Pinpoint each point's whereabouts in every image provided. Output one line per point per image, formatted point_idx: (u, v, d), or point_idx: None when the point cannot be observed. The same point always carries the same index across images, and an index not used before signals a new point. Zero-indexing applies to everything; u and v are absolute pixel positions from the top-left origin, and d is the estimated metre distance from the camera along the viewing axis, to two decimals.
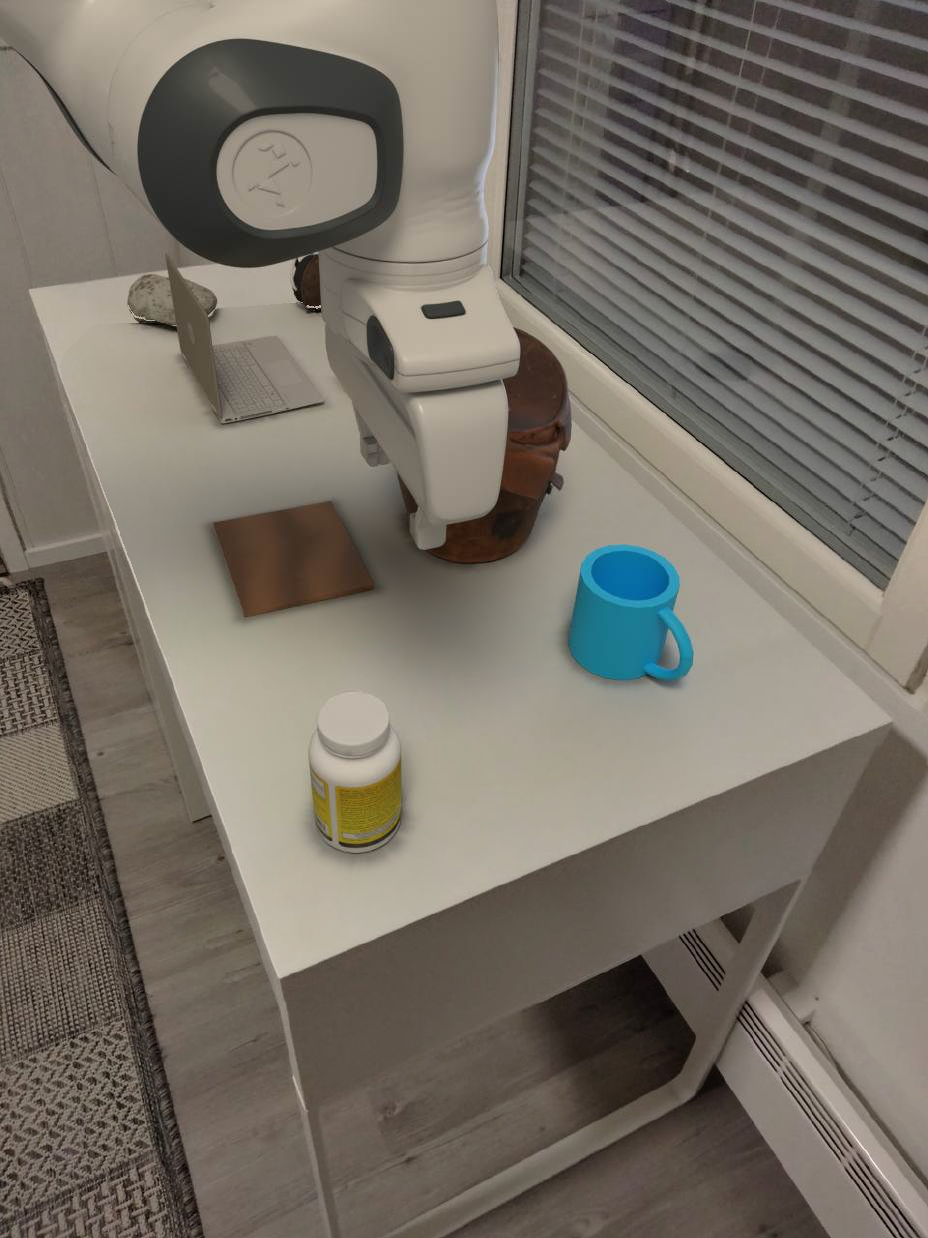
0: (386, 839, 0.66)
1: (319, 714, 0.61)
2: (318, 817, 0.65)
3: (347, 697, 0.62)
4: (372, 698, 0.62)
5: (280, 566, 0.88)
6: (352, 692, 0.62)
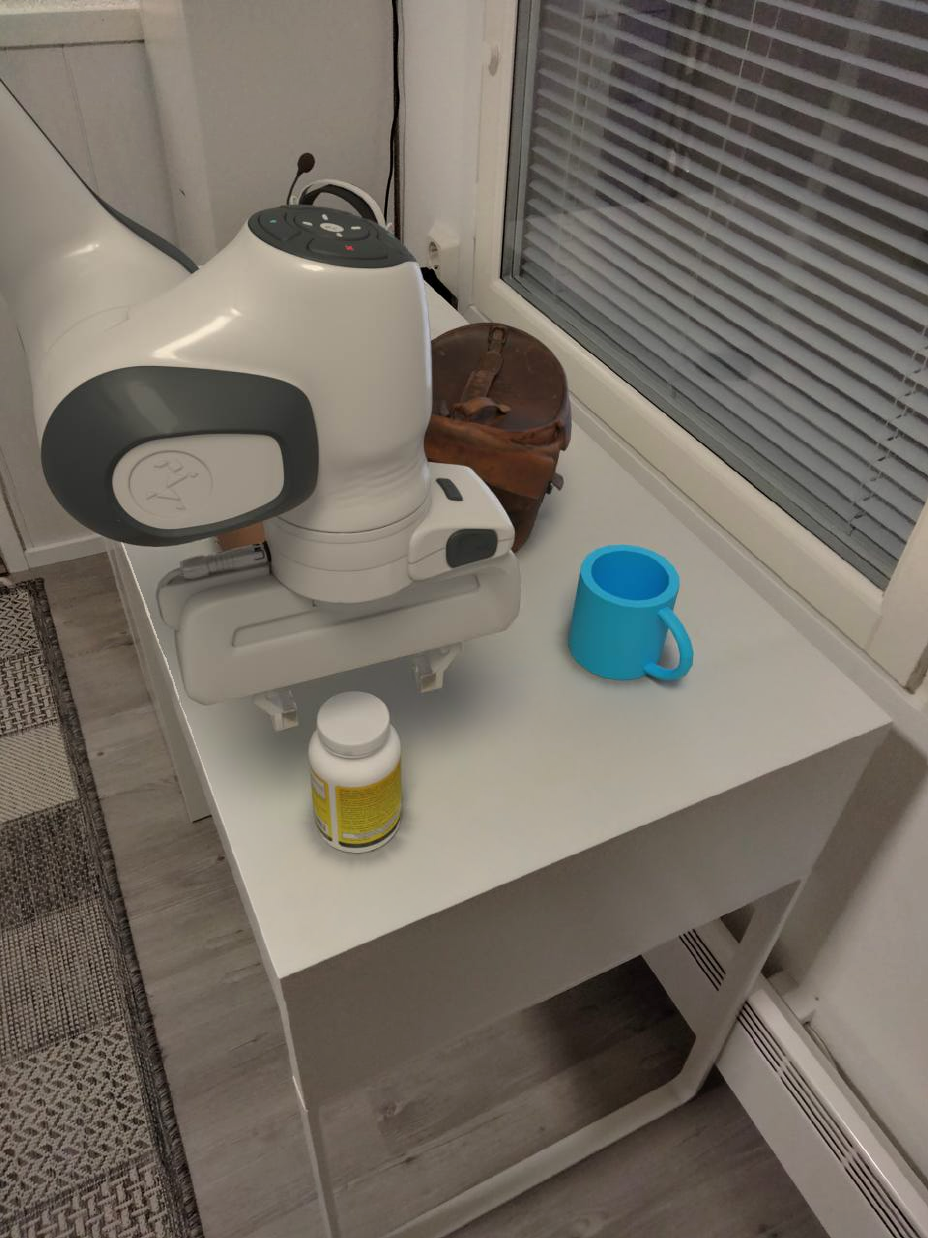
0: (386, 839, 0.66)
1: (319, 714, 0.61)
2: (318, 817, 0.65)
3: (347, 697, 0.62)
4: (372, 698, 0.62)
5: None
6: (352, 692, 0.62)
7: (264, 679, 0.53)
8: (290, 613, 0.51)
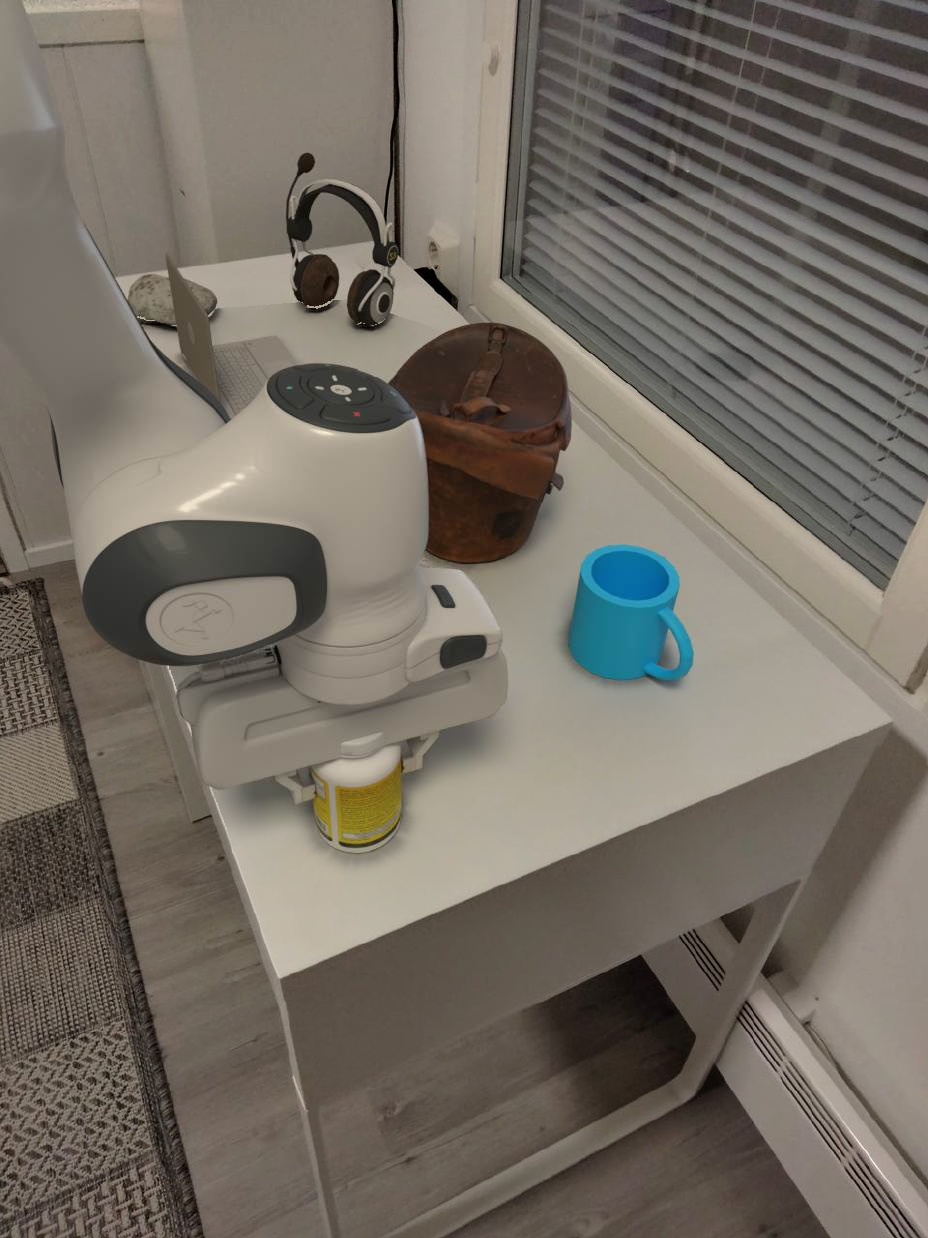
0: (386, 839, 0.66)
1: None
2: (318, 817, 0.65)
3: None
4: None
5: None
6: None
7: (273, 766, 0.58)
8: (298, 709, 0.56)
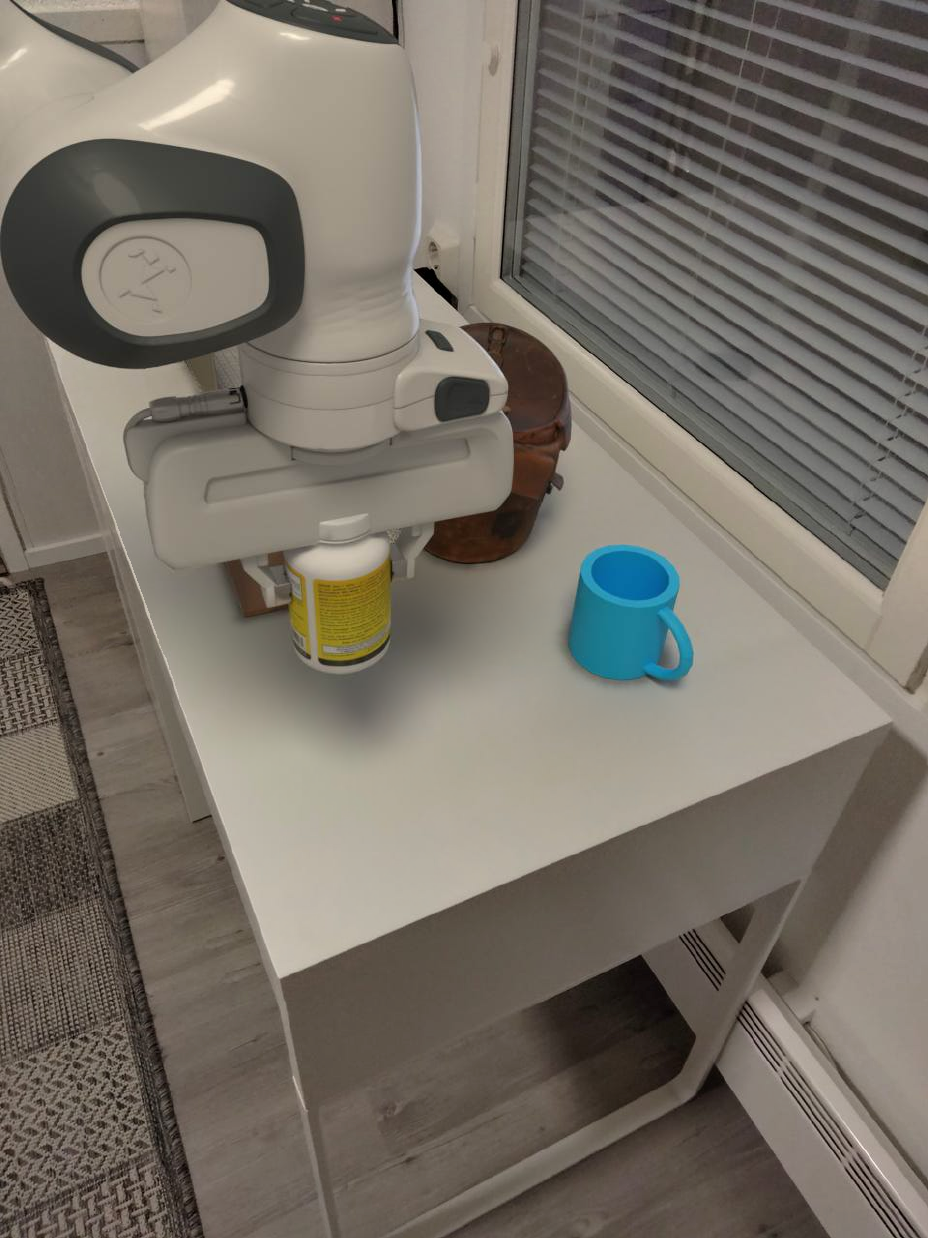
0: (373, 659, 0.58)
1: None
2: (295, 630, 0.57)
3: None
4: None
5: None
6: None
7: (239, 543, 0.50)
8: (268, 466, 0.47)
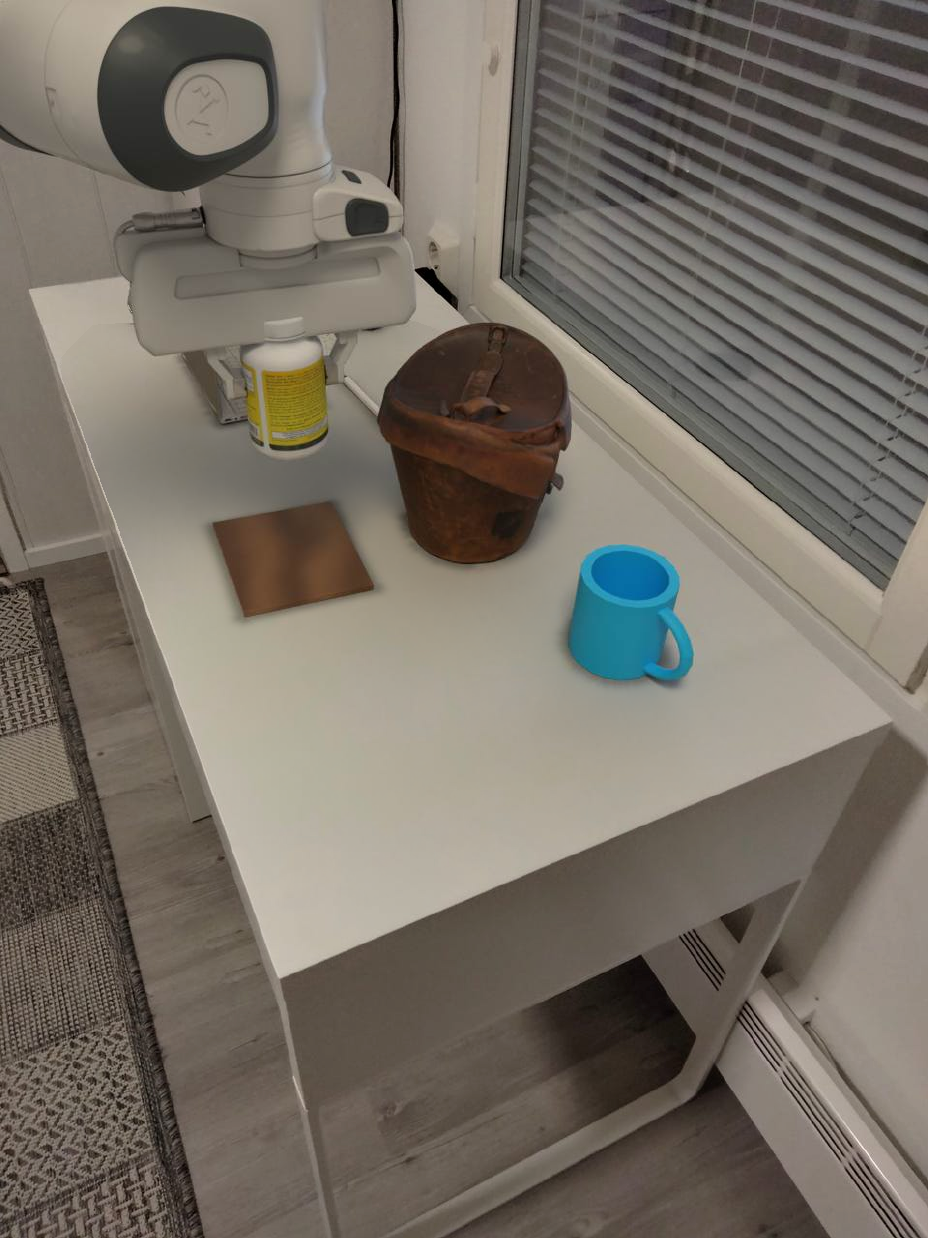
0: (313, 447, 0.74)
1: None
2: (251, 422, 0.73)
3: None
4: None
5: (280, 566, 0.88)
6: None
7: (202, 335, 0.66)
8: (222, 269, 0.63)
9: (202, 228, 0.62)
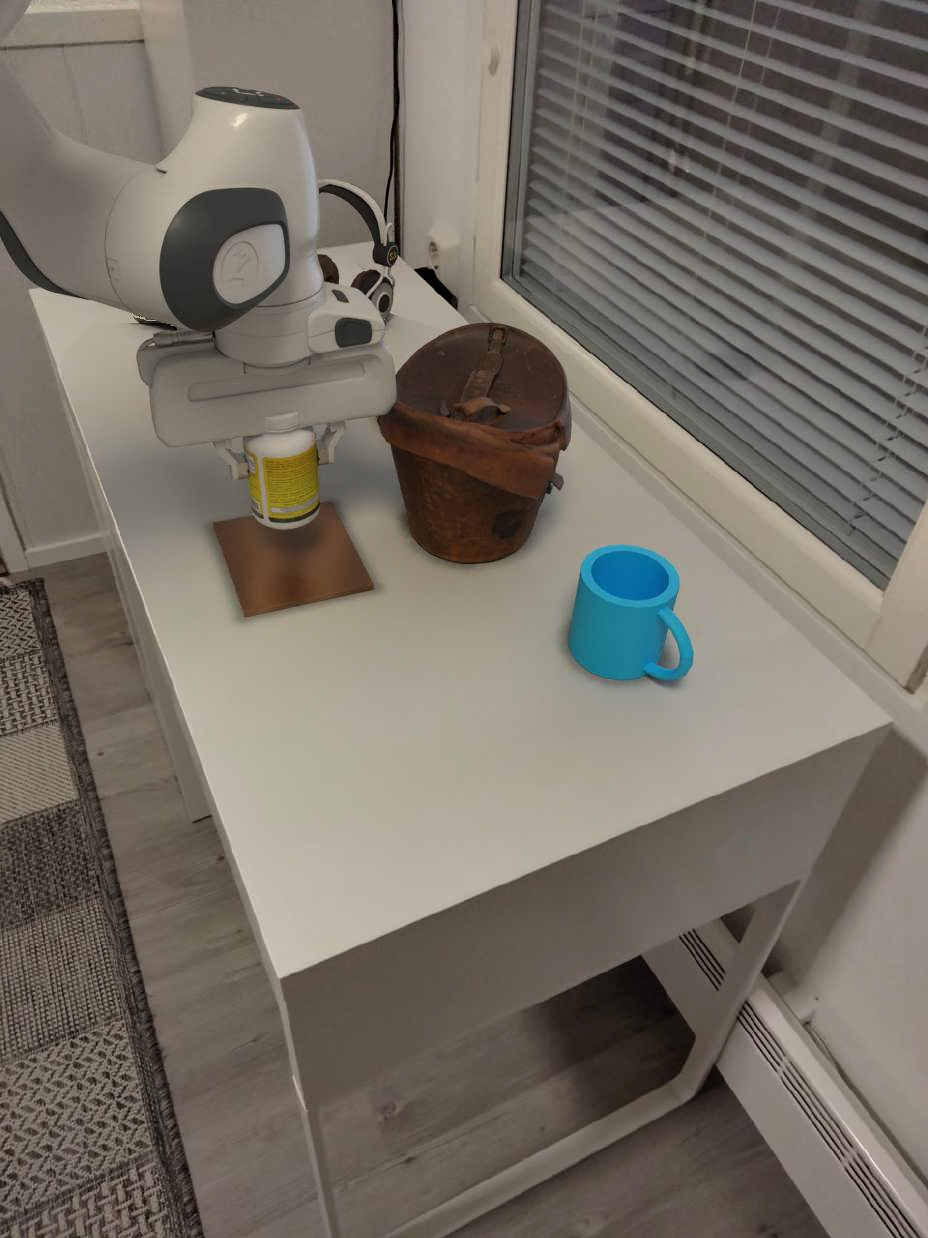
0: (306, 519, 0.84)
1: None
2: (252, 498, 0.83)
3: None
4: None
5: (280, 566, 0.88)
6: None
7: (212, 430, 0.76)
8: (229, 376, 0.74)
9: (212, 342, 0.73)
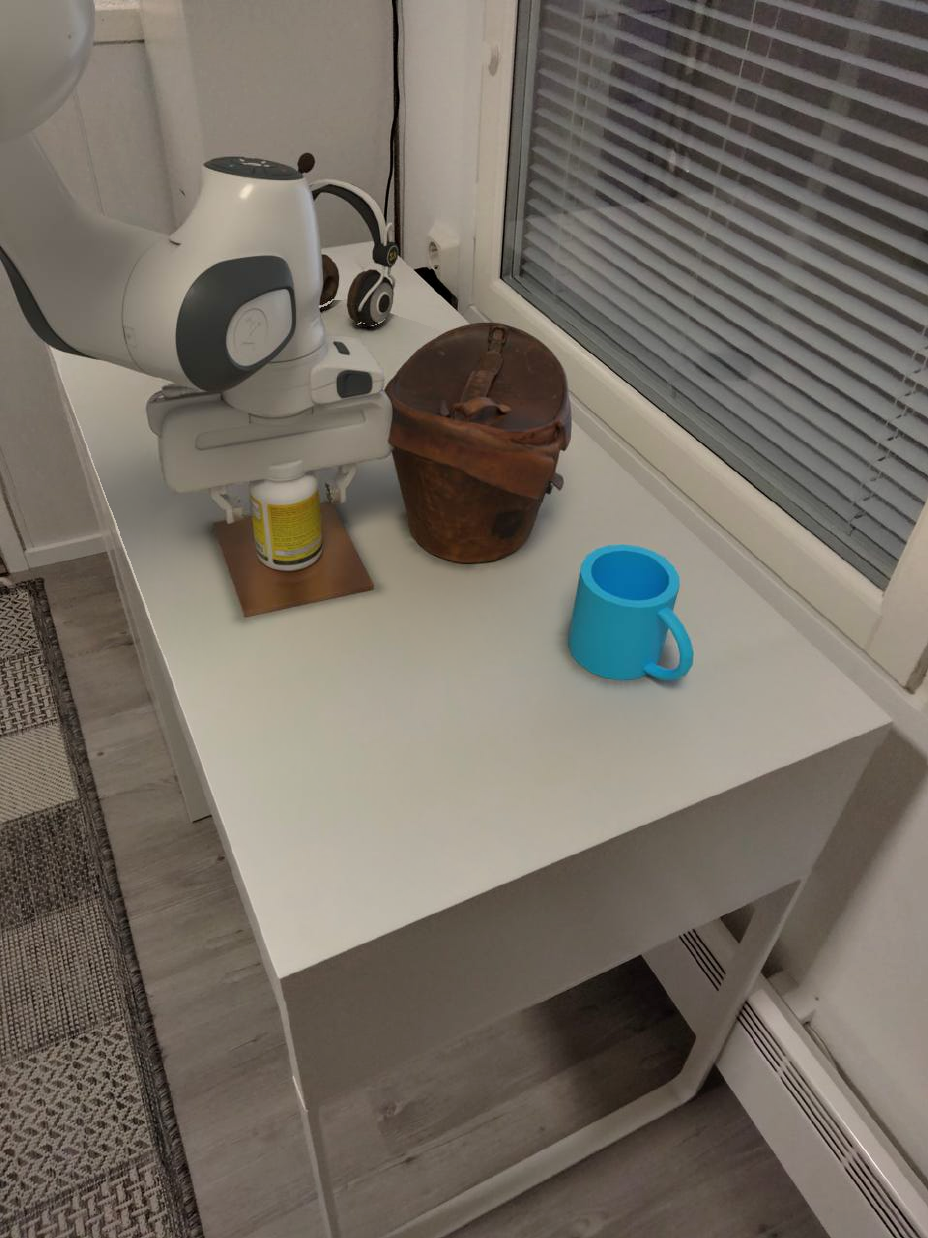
0: (309, 561, 0.87)
1: None
2: (257, 541, 0.86)
3: None
4: None
5: None
6: None
7: (218, 476, 0.79)
8: (234, 426, 0.77)
9: (219, 394, 0.76)
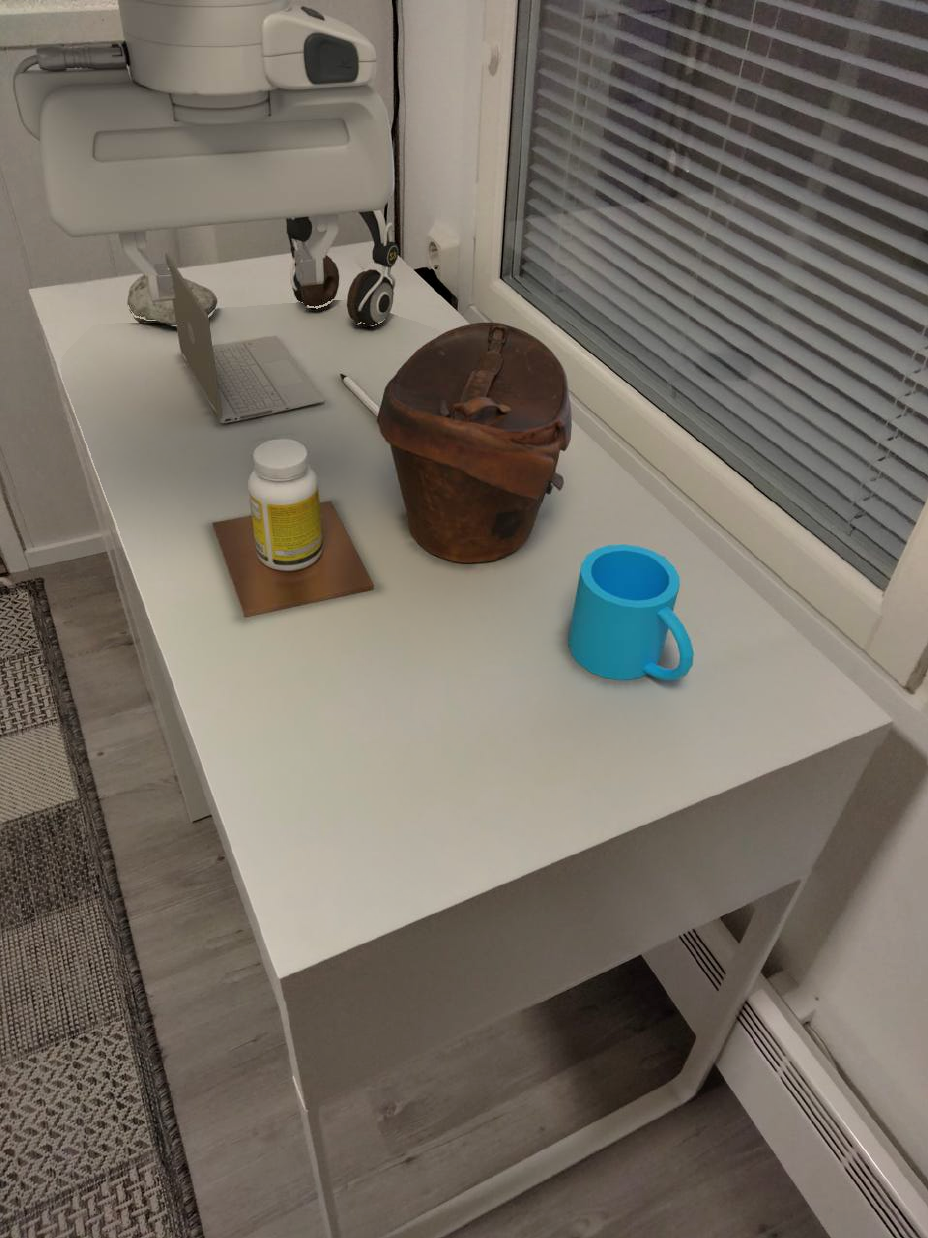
0: (309, 561, 0.87)
1: (255, 451, 0.82)
2: (257, 541, 0.86)
3: (277, 442, 0.83)
4: (295, 443, 0.83)
5: None
6: (281, 439, 0.84)
7: (131, 211, 0.53)
8: (151, 124, 0.51)
9: (126, 71, 0.50)
